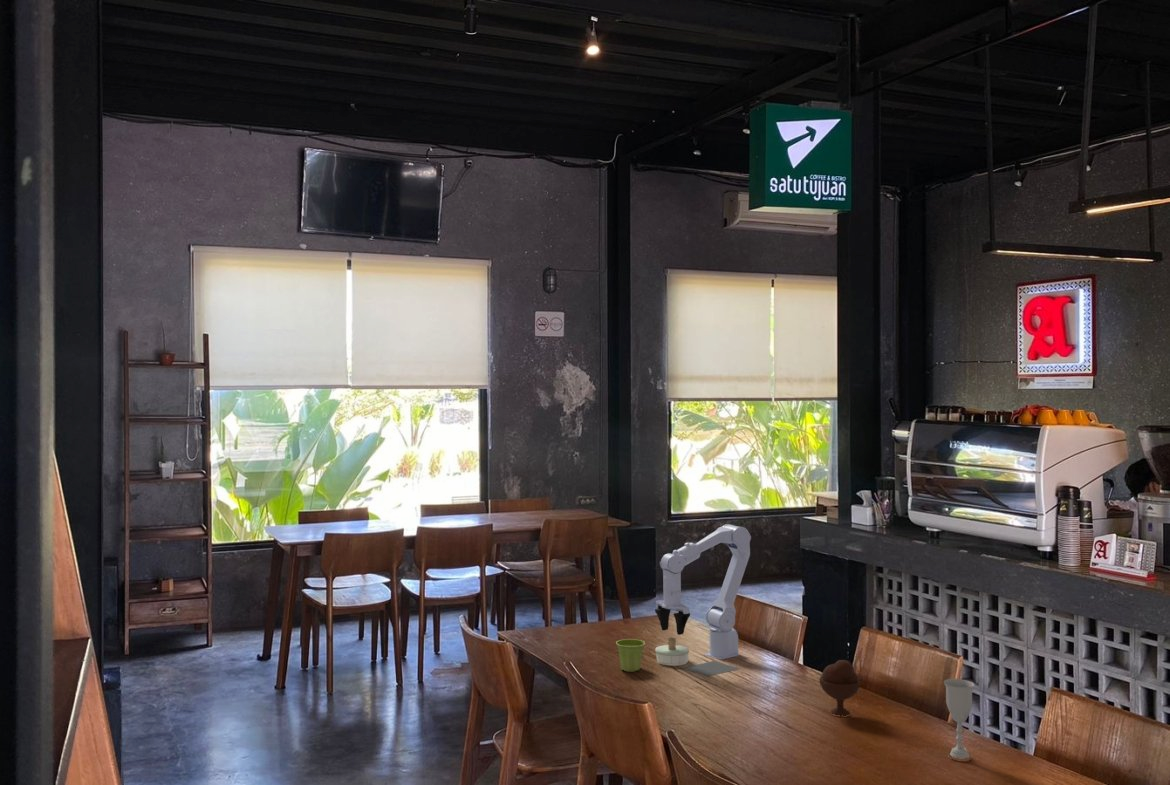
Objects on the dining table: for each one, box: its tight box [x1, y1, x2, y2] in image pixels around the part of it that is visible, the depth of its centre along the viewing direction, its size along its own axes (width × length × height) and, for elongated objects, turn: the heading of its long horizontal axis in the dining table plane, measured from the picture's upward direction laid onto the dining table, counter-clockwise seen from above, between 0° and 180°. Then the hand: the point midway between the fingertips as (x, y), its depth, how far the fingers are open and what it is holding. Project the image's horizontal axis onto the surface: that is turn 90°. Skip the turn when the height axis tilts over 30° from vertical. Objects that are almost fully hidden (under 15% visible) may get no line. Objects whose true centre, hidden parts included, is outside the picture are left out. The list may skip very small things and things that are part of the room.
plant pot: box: [615, 638, 646, 673], centre depth 318 cm, size 9×9×9 cm
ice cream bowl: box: [819, 659, 861, 716], centre depth 272 cm, size 11×11×15 cm
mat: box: [682, 660, 740, 677], centre depth 317 cm, size 14×12×1 cm
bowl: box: [655, 652, 689, 667], centre depth 326 cm, size 10×10×4 cm
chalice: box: [943, 678, 975, 759], centre depth 238 cm, size 7×7×18 cm
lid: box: [655, 637, 690, 656], centre depth 326 cm, size 11×11×4 cm
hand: (672, 632), depth 326 cm, fingers open, 7 cm apart
